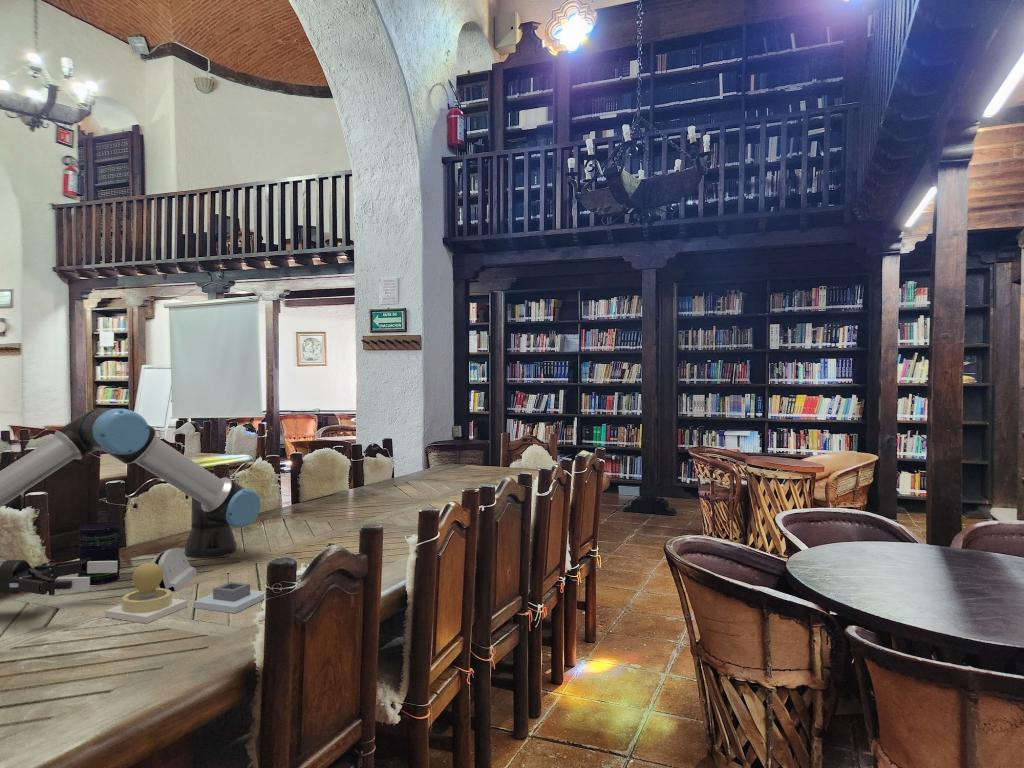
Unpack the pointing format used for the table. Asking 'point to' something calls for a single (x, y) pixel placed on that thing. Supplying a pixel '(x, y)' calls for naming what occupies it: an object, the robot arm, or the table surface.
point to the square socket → (230, 598)
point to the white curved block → (174, 568)
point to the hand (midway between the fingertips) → (103, 574)
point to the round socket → (146, 607)
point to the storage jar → (100, 548)
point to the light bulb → (147, 580)
